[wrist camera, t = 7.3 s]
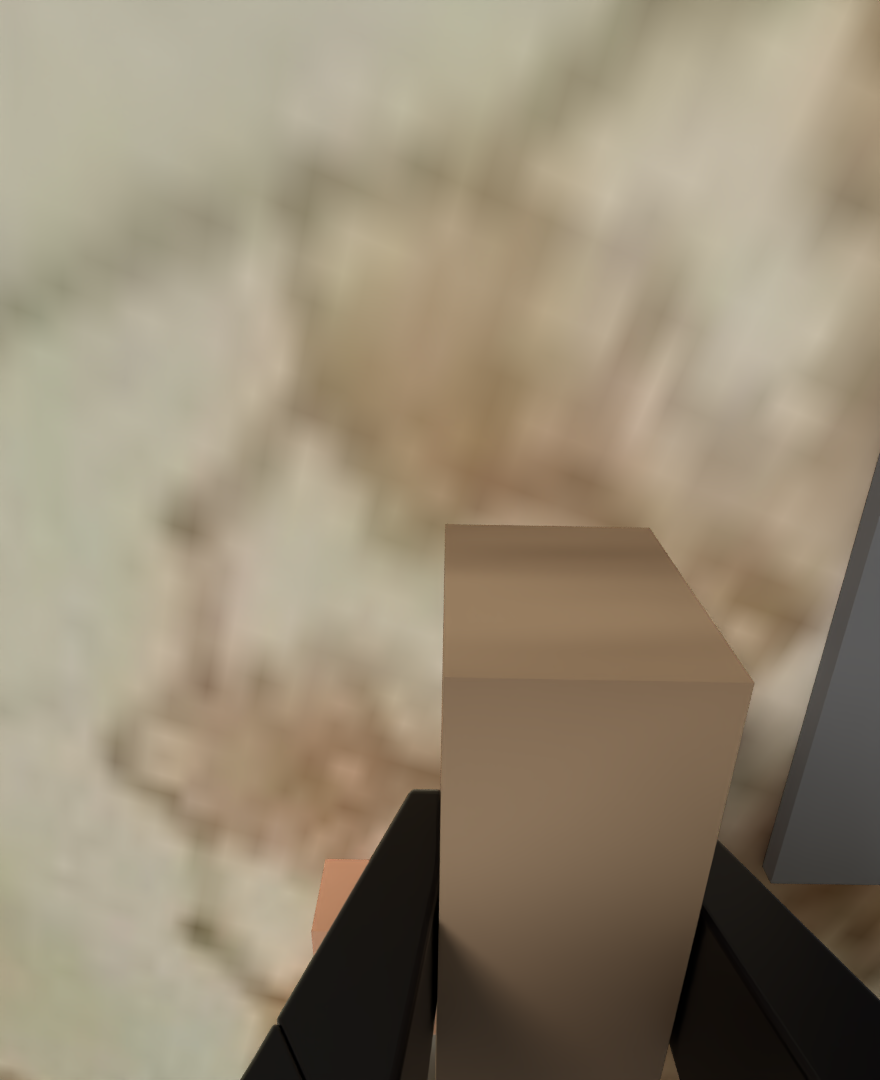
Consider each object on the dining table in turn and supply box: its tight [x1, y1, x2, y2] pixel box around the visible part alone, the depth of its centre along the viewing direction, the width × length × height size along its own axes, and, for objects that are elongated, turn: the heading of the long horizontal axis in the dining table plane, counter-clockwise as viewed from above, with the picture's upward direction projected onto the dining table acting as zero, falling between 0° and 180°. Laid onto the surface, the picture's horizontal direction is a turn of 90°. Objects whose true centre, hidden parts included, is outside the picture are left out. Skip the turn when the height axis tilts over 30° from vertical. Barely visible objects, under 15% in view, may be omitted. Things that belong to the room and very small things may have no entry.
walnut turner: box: [427, 524, 754, 1080], centre depth 10 cm, size 14×5×3 cm, turn 179°
